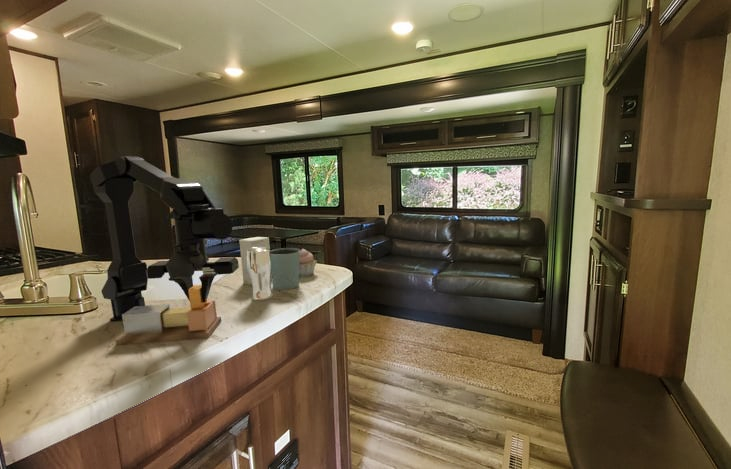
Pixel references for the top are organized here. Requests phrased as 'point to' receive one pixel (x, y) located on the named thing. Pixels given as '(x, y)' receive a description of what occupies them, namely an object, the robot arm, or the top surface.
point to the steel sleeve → (144, 319)
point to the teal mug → (285, 268)
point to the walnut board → (168, 335)
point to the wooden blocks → (184, 309)
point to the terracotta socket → (202, 317)
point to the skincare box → (244, 246)
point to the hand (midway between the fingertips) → (198, 302)
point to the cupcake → (306, 263)
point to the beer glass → (260, 272)
